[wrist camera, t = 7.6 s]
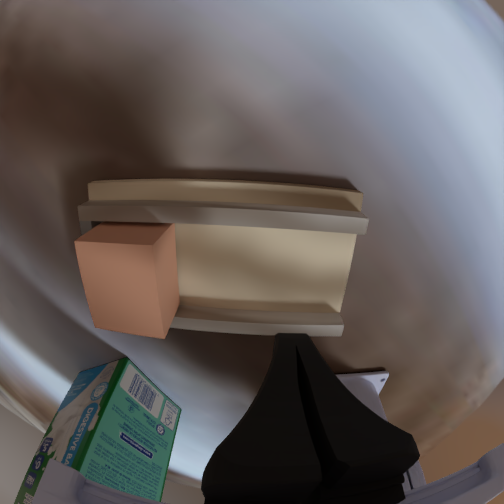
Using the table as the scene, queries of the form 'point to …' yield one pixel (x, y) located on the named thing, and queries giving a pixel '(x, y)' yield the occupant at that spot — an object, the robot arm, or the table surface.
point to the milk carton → (110, 433)
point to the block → (130, 276)
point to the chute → (246, 248)
